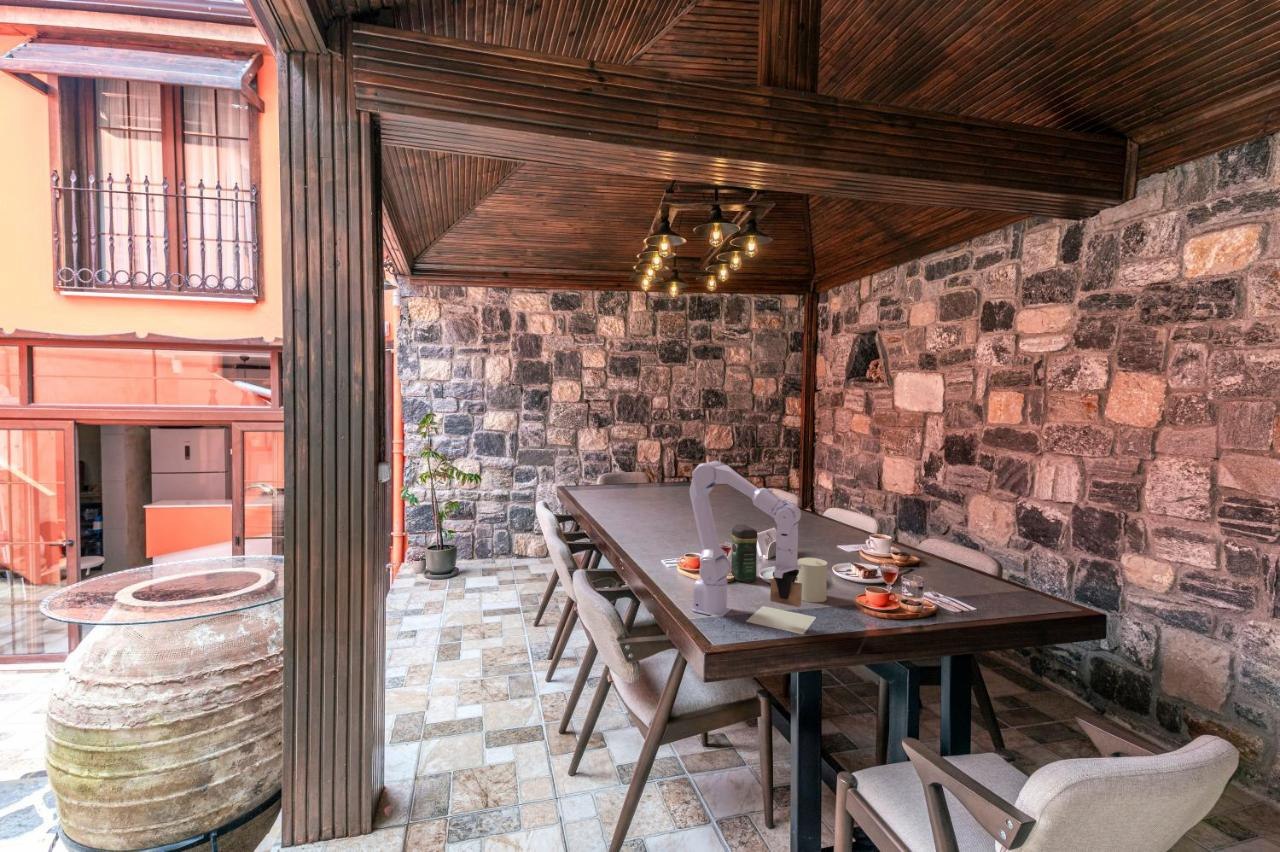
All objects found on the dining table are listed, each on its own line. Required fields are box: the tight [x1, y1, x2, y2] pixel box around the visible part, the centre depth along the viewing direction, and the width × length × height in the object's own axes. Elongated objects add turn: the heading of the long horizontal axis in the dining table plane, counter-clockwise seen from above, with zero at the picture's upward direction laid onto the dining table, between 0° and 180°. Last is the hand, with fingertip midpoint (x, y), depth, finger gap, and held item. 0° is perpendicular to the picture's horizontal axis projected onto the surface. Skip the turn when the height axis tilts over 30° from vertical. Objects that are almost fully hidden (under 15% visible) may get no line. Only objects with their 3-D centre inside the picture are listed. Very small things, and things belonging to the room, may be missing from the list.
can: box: [796, 557, 828, 603], centre depth 181 cm, size 9×9×12 cm
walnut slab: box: [769, 577, 802, 608], centre depth 156 cm, size 8×2×6 cm, turn 58°
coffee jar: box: [730, 524, 758, 583], centre depth 199 cm, size 10×8×19 cm
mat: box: [745, 605, 817, 635], centre depth 161 cm, size 16×14×1 cm
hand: (785, 597), depth 157 cm, fingers closed on walnut slab, 2 cm apart
